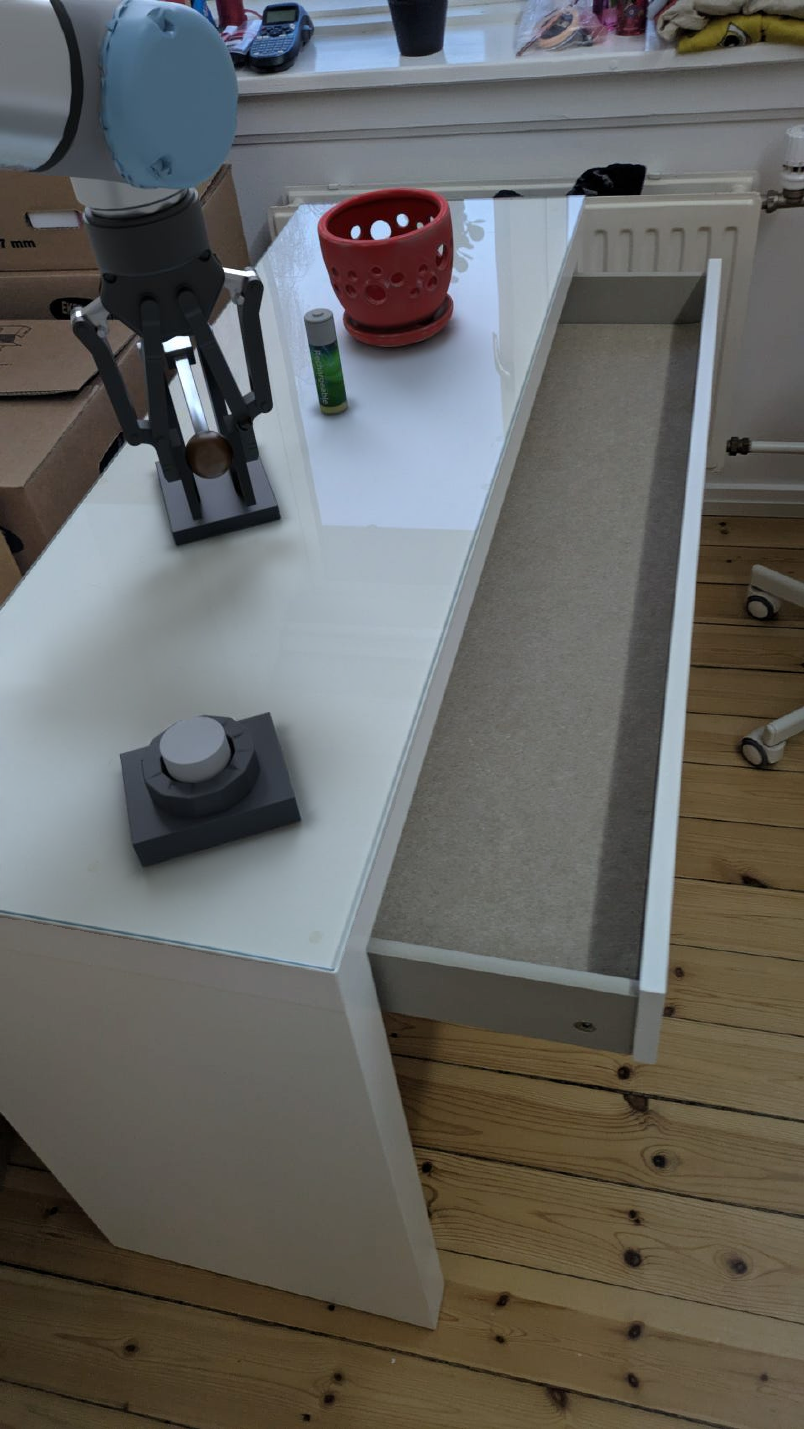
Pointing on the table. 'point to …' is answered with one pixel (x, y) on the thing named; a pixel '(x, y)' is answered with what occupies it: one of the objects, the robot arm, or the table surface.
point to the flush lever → (197, 416)
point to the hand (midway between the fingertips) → (222, 503)
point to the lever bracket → (214, 482)
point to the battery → (326, 360)
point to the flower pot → (390, 265)
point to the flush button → (195, 749)
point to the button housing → (208, 794)
